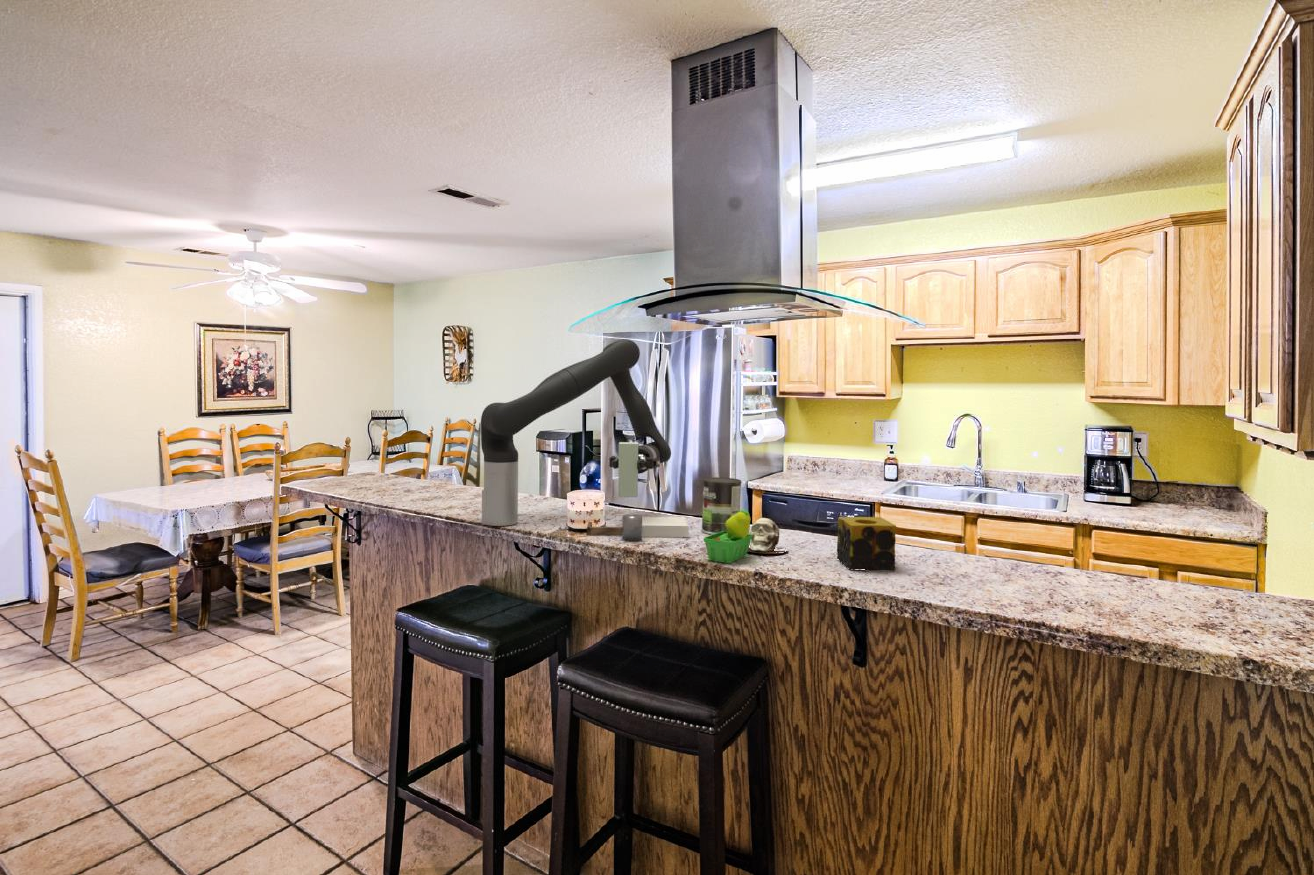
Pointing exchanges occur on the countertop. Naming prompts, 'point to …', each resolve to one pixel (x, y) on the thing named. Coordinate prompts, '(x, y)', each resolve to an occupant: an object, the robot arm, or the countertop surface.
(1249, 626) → the countertop surface
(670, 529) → the white platform
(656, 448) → the robot arm
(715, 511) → the coffee can
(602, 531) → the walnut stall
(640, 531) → the grey cylinder
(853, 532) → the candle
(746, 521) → the fruit basket
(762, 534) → the skull
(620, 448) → the sage block
